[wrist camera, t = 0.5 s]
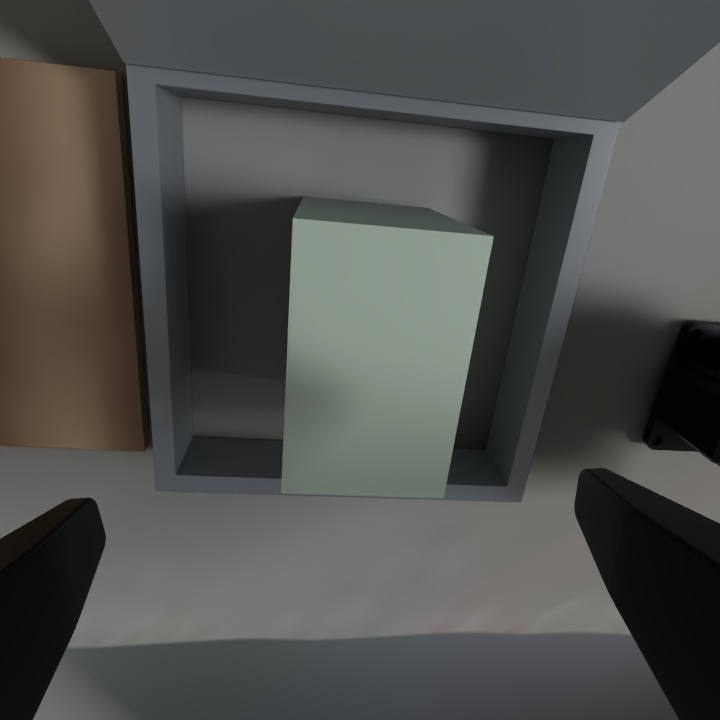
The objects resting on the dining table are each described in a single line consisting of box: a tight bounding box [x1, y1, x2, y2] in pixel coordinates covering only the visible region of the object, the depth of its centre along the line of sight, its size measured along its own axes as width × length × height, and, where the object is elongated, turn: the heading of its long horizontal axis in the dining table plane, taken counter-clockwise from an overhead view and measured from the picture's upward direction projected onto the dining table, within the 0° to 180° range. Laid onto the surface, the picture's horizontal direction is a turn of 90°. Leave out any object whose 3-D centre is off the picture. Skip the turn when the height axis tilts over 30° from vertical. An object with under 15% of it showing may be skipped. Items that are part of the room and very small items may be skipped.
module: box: [281, 197, 494, 499], centre depth 17 cm, size 5×8×8 cm, turn 175°
